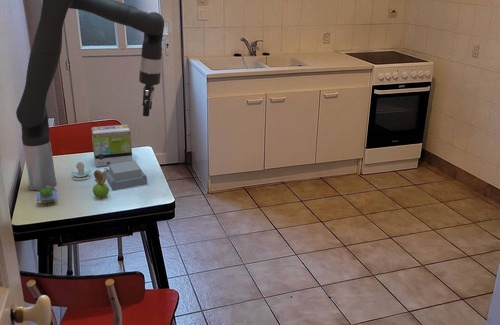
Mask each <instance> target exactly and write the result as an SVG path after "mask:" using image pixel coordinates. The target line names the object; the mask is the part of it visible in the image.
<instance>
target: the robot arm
mask: <svg viewBox="0 0 500 325" xmlns="http://www.w3.org/2000/svg"><path fill="white" fill-rule="evenodd" d="M69 9H71V10H72V9H73V10H77V11H78V10H80V11H84V12H87V13H90V14H93V15H96V16H98V17H100V18H103V19H105V20H108V21H110V22H113V23H116V24H120V25H123V26H126V27H129V28H132V29H135V30H136V31H139V32H141V33H143V41H142V47H141V56H140V62H139V73H138V74H139V75H138V76H139V77H138V81H139V83H141V84H142V85H143V88H142V107H143V108H142V116H143V117H149V116H150V110H152V107H153V106H152V105H153V99H154V96H155V92H156V91H155V90H156V87H155V86H157V85H159V84H160V83H161V77H162V76H161V75H162V56H163V55H162V53H163V43H162V42H163V37H164V30H165V29H164V28H165V18H164V17H163V16H162V15H161V14H160V13H159V12H156V11H154V12H153V11H152V12H146V11H143V10H141V9H138V8H137V7H135V6H133V5H131V4H127V3H124V2H121V1H117V0H42V3H41V9H40V10H41V11H40V16H39V21H38V25H37V27H36V31H35V34H34V39H33V42H32V44H31V49H30V54H29V57H28V63H27V71H26V77H25V85H24V89H23V93H22V95H21V97H20V101H19V103H18V106H17V108H16V112H15V115H16V119H17V120H18V122H19V124H20V127H21V141H22V142H21V143H22V147H23V153H24V159H25V164H26V165H25V166H26V171H27V177H28V183H29V188H30V191H39V189H46V185H49V186H52V187H54V188H55V186H57V178H56V172H55V171H56V170H55V166H54V165H55V164H54V157H53V152H52V151H53V150H52V144H51V138H50V136H51V135H50V125H49V117H48V111H47V107H46V102H47V98H48V97H47V96H48V93H49V90H50V86H51V84H52V82H53V80H54V78H55V74H56V71H57V69H58V65H59V62H60V58H61V54H62V47H63V27H64V23H65V19H66V16H67V13H68V11H69ZM44 185H45V186H44ZM43 186H44V187H43Z"/></svg>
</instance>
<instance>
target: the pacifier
mask: <svg viewBox="0 0 500 325" xmlns="http://www.w3.org/2000/svg"><path fill="white" fill-rule="evenodd" d="M75 168H76V169H77V171H71V172H70V173H71V175H72V178H71V179H72V180H74V181H86V180H88V179H90V173H91V172H92V170H87V171H85V163H84V162H82V161H78V162H77V163H76V164H75Z"/></svg>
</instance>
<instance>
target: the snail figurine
mask: <svg viewBox="0 0 500 325" xmlns="http://www.w3.org/2000/svg"><path fill="white" fill-rule="evenodd" d="M105 169H107V167H103V171H101V170H99V169H95V170H94V172H93V177H94V181H95V184H94V185H93V188H92V193H93V195H94V196H95V197H96V198H97V199H98V198H99V199H103V198H105V197H107V196H108V194H109V191H110V190H109V186H108V185H107V184H106V181H107V179H106V173H107V172H106V170H105Z"/></svg>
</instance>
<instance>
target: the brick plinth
mask: <svg viewBox="0 0 500 325" xmlns="http://www.w3.org/2000/svg"><path fill="white" fill-rule="evenodd" d="M108 167H109V168H106V169H105V171H106V172H107V173H106V181H107V183H108V185H109V187H110V188H111V190H112V191H117V190H122V189H123V190H124V189H128V188H129V189H130V188H134V187H140V186H145V185H148V178H147V174H145V173H144V171H143V170H142V168H141V167H140V165H139V164H138V163H137V162H136V160H132V161H127V162H121V163H114V164H109V165H108Z"/></svg>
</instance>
